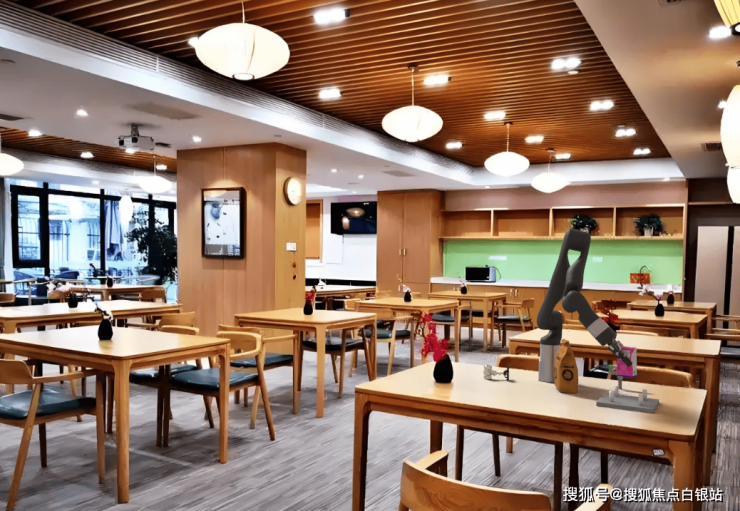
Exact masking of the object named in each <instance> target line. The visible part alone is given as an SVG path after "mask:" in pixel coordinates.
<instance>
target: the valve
mask: <svg viewBox="0 0 740 511" xmlns="http://www.w3.org/2000/svg"><path fill="white" fill-rule="evenodd" d="M496 375H498V376H501V375H503V376H504V378H505V379H506V381H509V380H510V366H508V365H507V366H506V369H505V370H503V371H502V370H496V369H493V365H491V364H484V365H483V379H484V380H486V379H491V380H492V379H493V378H492V376H493V377H495V376H496Z"/></svg>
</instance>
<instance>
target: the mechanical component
mask: <svg viewBox="0 0 740 511" xmlns="http://www.w3.org/2000/svg"><path fill="white" fill-rule="evenodd" d="M607 369H608V370H609V374H610V375H613V376H614V375H615V376H616V379H617V386H618V387H619V390H622V389H623V380H624V377H622V376H617V364H616V365H615V364H609V365H607Z"/></svg>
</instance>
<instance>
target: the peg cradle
mask: <svg viewBox="0 0 740 511" xmlns="http://www.w3.org/2000/svg"><path fill="white" fill-rule="evenodd" d="M613 389H614V390H609V391H608V392H605V394H603V395H602V396H601V397H600V398H599V399H597V401H596V404H595V405H596V406H597V407H602V408H610V409H611V408H612V409H617V410H624V409H625V411H627V410H628V411H631V412H632V411H633V412H634V411H635V412H639V411H640V412H641V413H647V412H648V414H653V413H654V412H655V410H656V409H657V407H658V406H659V404H660V399H658V398H654V397H653V398H651V397H648V389H642V393H638V396H637V395H627V394H619V392H620V391H619V390H620V389H619V387H618V385H615V386H614V387H613ZM657 405H658V406H657Z"/></svg>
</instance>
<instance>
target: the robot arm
mask: <svg viewBox="0 0 740 511" xmlns="http://www.w3.org/2000/svg"><path fill="white" fill-rule="evenodd" d="M591 240H592V236H591V233H590V232H589V231H588V232H587V231H584V230H579V229H576V228H568V229H566V231H565V234H564V236H563V239H562V243H561V246H560V249H559V250H560V251H559V255H558V258H557V262H556V263H555V267H554V270H553V273H552V275H551V279H550V281H549V285H548V287H547V288H548V289H547V291H546V293H545V296H544V300H543V302H542V304H541V306H540V308H539V310H538V313H537V316H536V325H537V326H536V327H537V328H538V329H539V330H542V331H548V332H547V333H546V335H543V336H542V337H540V338H539V345H540V346H539V347H540V348H539V359H538V381H541V382H546V383H555V380H554V367H555V356H556V353H557V352H558V350H559V349H560V347H561V343H562V342H561V340H562V339H563V324H564V320H563V314H562V313H561V311H559V310H555V308H556V306H557V305H558V304H559V302H560V301H561V307H562V309H563V310H564V311H565V312H566V313H568V314H572V313H576V312H577V315H578V317H577V318H578V322H579V323H580V324H581V325H583V327H584V328H585V329H586V330H587V331H588V332H589V334H590V335H591V336H592V337H593V339H595V341H597V343H598V344H599V345H600V346H601V347H605V346H606V345H607V346H608V347H607V350H609V351H610V353H612V354H613V356H615V357H616V359H617V358H618V359H620V360H622V361H623V362H624V363H625V364H626V365H627V366H628V367H630V366H631V365H632V364H633V363H632V362H631V361H630V360H629V359H628V358H627V356H626V355H625V354H624V353H623V350H622V348H621V346H624V344H623V343H622V342H621V341H620V340H616V339H615V338H616V337H617V336H618V334H617V333H616V332H615V331H614V330H613V328H612V327H611V326H609V325H608V324H607V322H606V321H605V320H603V319H602V318H601V317H600V316H599V315H598V314H597V313H596V312H595V311H594V309H593V307H591V304H590V303H589V302H588V300H587V298H586V297H585V296H584V294H582V293H581V292H582V289H583V287H584V277H585V275H584V274H585V269H586V265H587V261H588V257H589V252H590V248H591V242H592V241H591ZM569 251H575V252H579V253H580V254H579V255H578V258H577V259H576V260H575V261H574V262H573V263H572V264H570V261H569V260H570V259H569ZM625 356H626V357H625Z"/></svg>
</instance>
